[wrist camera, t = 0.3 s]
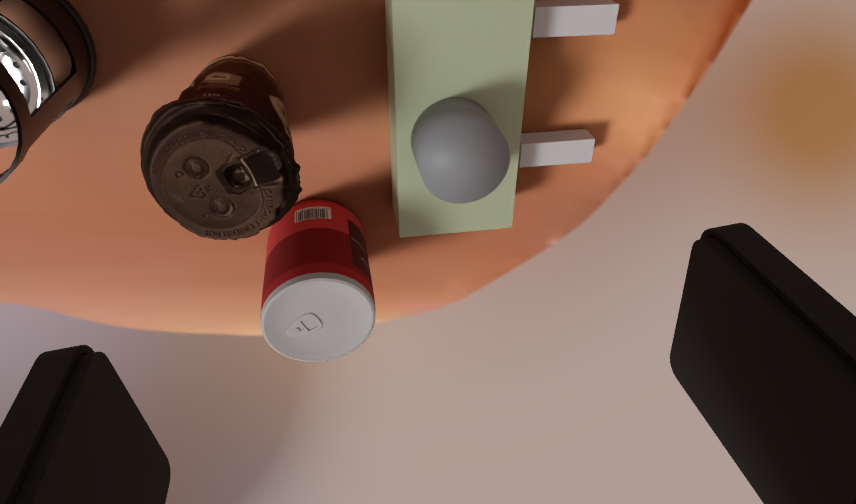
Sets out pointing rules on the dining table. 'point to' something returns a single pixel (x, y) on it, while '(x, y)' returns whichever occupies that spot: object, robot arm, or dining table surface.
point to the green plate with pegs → (472, 106)
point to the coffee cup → (223, 152)
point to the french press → (40, 77)
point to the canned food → (317, 283)
